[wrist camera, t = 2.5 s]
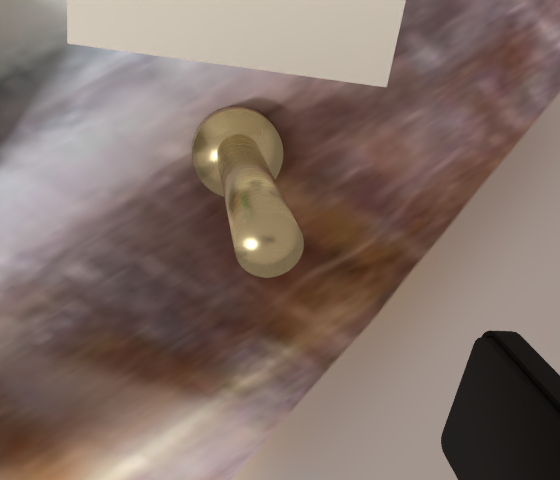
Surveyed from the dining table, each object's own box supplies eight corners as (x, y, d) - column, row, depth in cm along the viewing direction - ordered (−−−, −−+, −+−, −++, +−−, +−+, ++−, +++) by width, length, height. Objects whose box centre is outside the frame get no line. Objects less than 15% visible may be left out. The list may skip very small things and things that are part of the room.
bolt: (273, 195, 31) (326, 311, 19) (189, 188, 30) (190, 306, 18) (285, 111, 29) (353, 184, 17) (195, 100, 28) (202, 169, 16)
